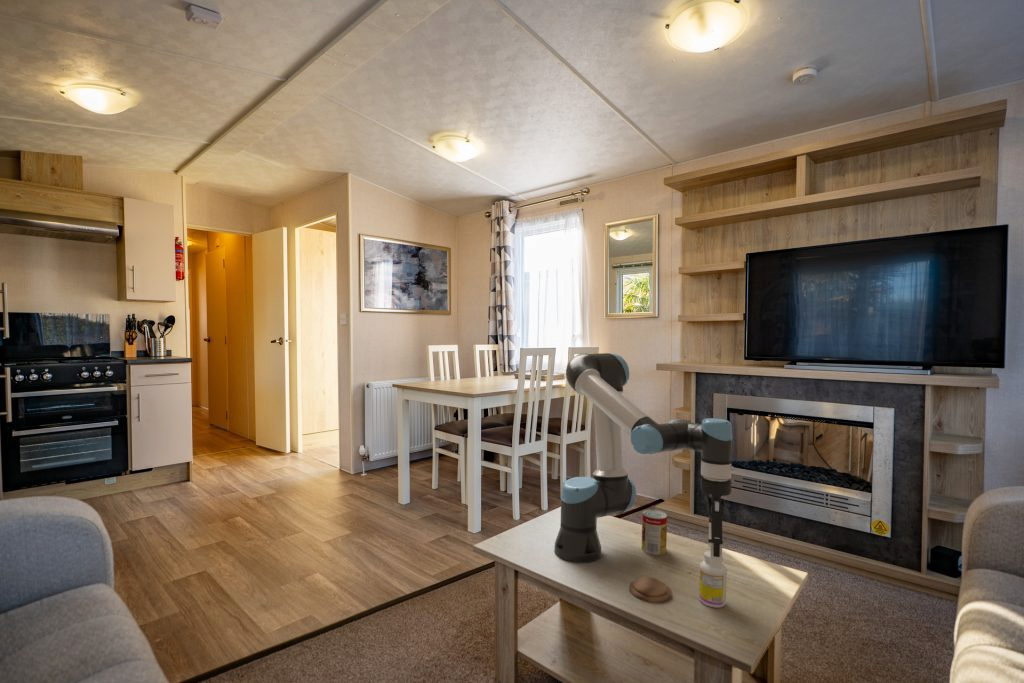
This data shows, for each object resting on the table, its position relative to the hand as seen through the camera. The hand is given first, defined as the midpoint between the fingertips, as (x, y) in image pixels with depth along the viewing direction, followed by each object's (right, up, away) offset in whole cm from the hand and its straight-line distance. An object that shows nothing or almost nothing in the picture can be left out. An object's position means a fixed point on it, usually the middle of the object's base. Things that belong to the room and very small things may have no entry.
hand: (714, 557), depth 133 cm
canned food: (-7, -12, +33) cm, 35 cm away
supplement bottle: (0, -12, 0) cm, 12 cm away
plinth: (-16, -12, +5) cm, 20 cm away
